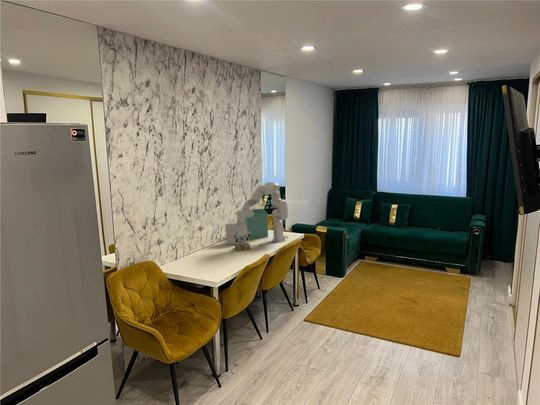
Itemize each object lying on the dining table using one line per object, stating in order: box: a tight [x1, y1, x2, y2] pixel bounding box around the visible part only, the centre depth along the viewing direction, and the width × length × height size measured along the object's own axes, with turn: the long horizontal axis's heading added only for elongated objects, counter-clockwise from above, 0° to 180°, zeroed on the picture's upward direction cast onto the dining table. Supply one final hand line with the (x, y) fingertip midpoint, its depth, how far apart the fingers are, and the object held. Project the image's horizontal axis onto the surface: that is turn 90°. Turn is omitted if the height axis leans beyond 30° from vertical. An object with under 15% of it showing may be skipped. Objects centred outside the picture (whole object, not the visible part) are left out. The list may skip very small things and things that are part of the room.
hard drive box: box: [225, 222, 244, 245], centre depth 375 cm, size 16×8×20 cm, turn 84°
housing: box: [239, 236, 247, 246], centre depth 355 cm, size 8×5×7 cm, turn 16°
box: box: [245, 208, 269, 240], centre depth 403 cm, size 23×21×26 cm
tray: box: [234, 242, 251, 252], centre depth 356 cm, size 12×12×4 cm
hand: (242, 241), depth 355 cm, fingers open, 9 cm apart
